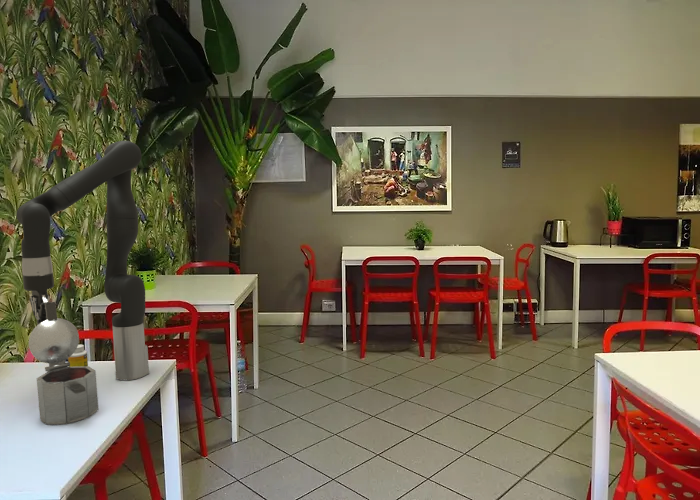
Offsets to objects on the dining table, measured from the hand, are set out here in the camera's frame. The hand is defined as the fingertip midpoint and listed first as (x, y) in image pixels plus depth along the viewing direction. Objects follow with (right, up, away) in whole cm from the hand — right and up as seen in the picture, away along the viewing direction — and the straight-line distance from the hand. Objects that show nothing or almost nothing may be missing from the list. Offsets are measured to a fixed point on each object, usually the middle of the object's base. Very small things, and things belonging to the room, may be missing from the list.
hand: (42, 331), depth 153 cm
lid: (+8, 0, -8) cm, 11 cm away
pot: (+14, -21, -11) cm, 27 cm away
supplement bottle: (+1, -18, +18) cm, 25 cm away
